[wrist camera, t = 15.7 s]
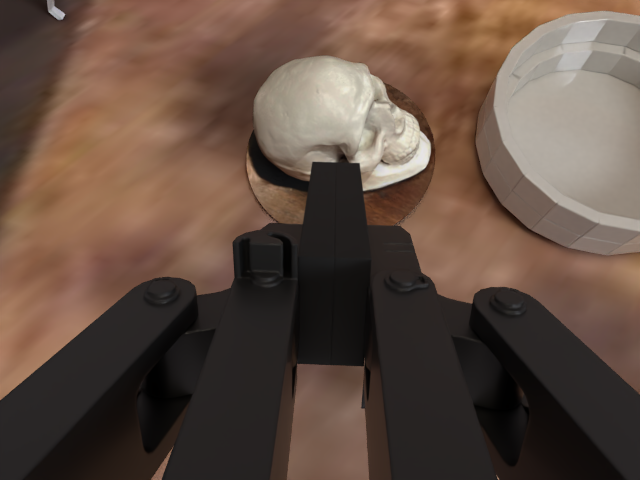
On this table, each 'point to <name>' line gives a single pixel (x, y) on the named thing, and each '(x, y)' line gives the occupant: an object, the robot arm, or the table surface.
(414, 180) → the skull
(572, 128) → the saucepan
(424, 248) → the table surface
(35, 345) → the table surface
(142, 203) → the table surface
